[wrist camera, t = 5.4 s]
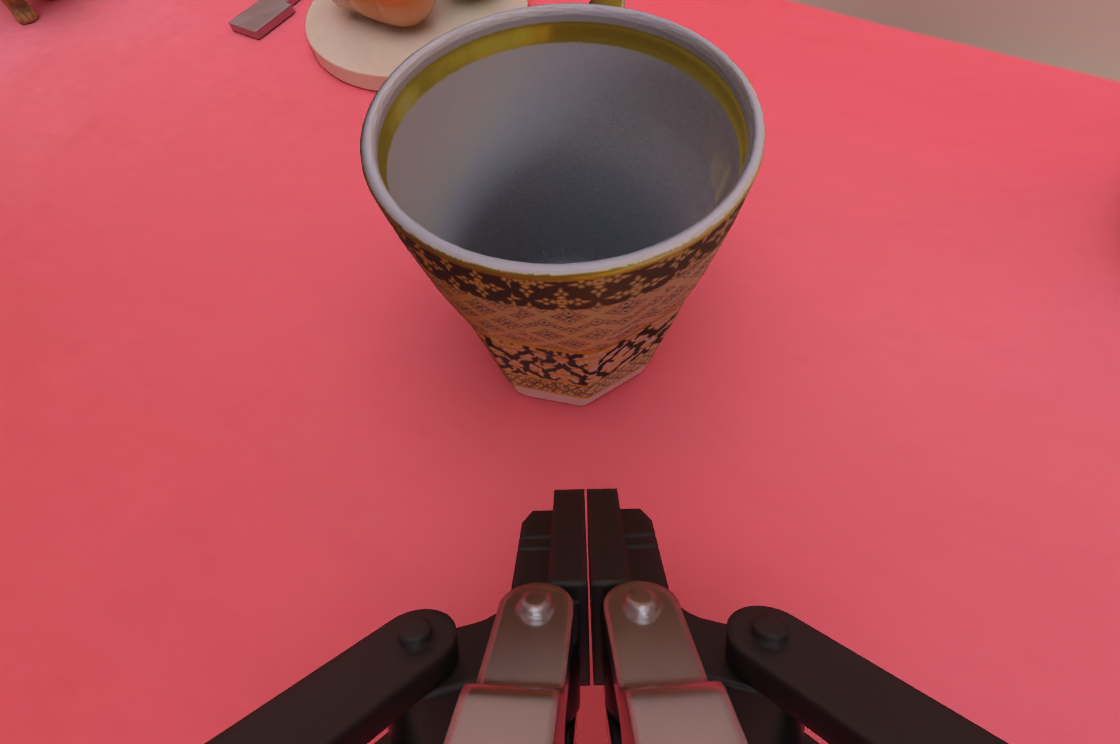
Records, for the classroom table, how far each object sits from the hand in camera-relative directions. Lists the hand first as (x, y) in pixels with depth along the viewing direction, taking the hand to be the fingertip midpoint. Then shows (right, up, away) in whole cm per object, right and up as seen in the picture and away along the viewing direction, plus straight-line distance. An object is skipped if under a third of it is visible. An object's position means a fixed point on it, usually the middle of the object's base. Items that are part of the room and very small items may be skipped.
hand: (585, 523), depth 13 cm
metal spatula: (-17, +28, +22) cm, 40 cm away
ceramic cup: (0, +6, +10) cm, 12 cm away
